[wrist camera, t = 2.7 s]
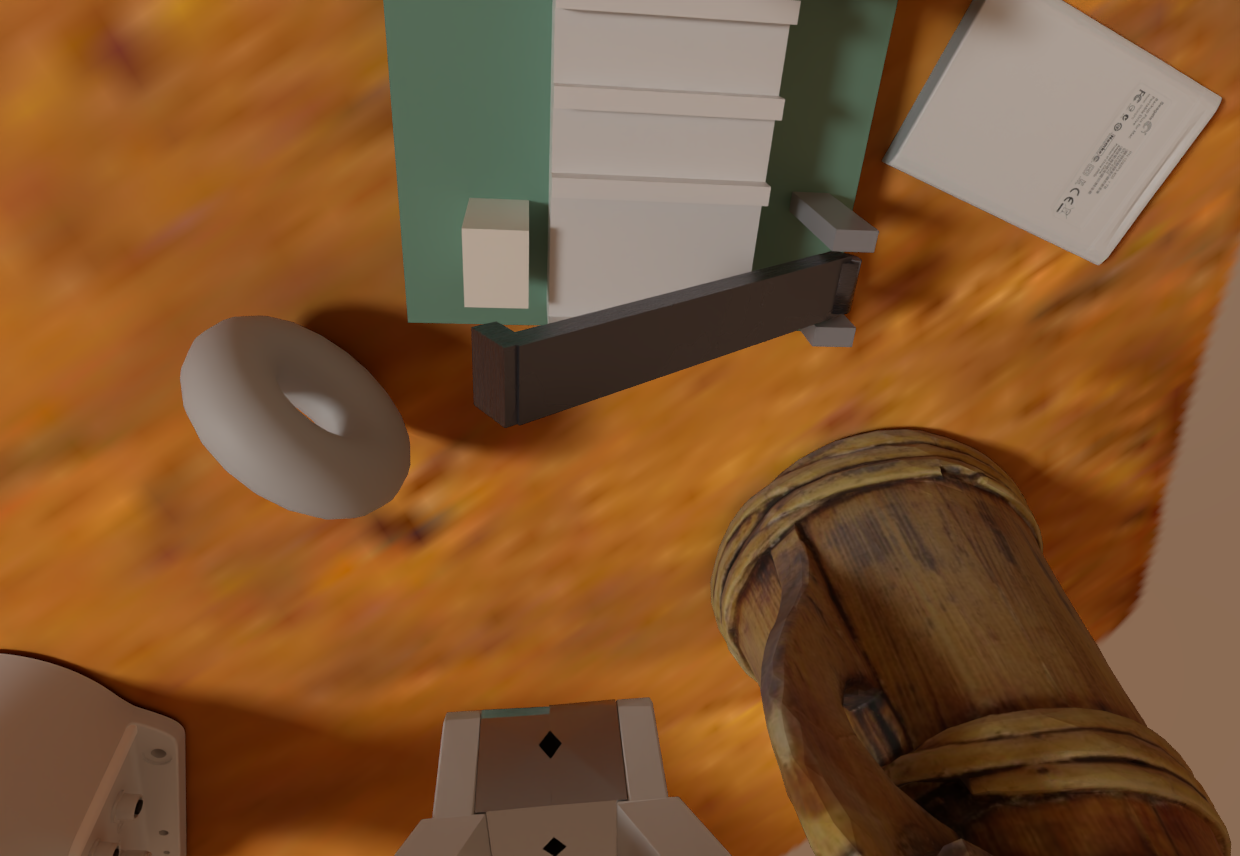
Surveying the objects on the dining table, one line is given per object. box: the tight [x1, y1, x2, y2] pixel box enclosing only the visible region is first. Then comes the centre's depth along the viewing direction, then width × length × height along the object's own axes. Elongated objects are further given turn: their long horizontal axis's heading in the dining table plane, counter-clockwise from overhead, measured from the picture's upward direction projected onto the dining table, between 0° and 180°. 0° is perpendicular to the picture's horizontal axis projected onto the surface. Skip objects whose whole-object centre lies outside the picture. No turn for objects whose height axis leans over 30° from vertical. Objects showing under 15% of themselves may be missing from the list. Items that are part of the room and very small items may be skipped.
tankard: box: [711, 429, 1231, 856], centre depth 35 cm, size 18×24×25 cm
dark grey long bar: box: [471, 251, 862, 428], centre depth 26 cm, size 2×16×2 cm
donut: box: [180, 316, 410, 519], centre depth 33 cm, size 10×4×10 cm, turn 43°
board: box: [383, 0, 898, 347], centre depth 29 cm, size 20×19×8 cm
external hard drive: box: [882, 0, 1222, 265], centre depth 34 cm, size 2×8×12 cm
